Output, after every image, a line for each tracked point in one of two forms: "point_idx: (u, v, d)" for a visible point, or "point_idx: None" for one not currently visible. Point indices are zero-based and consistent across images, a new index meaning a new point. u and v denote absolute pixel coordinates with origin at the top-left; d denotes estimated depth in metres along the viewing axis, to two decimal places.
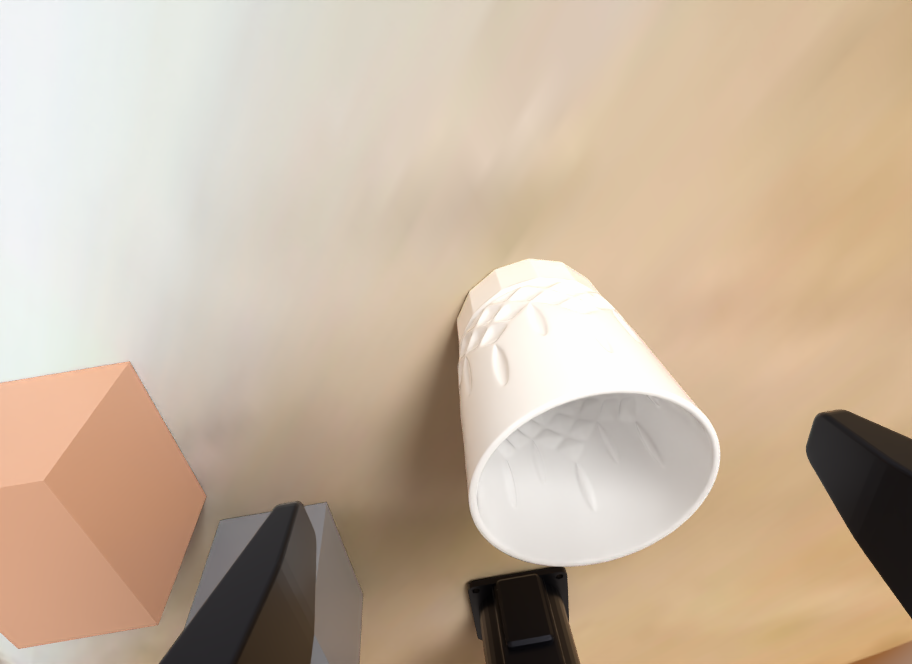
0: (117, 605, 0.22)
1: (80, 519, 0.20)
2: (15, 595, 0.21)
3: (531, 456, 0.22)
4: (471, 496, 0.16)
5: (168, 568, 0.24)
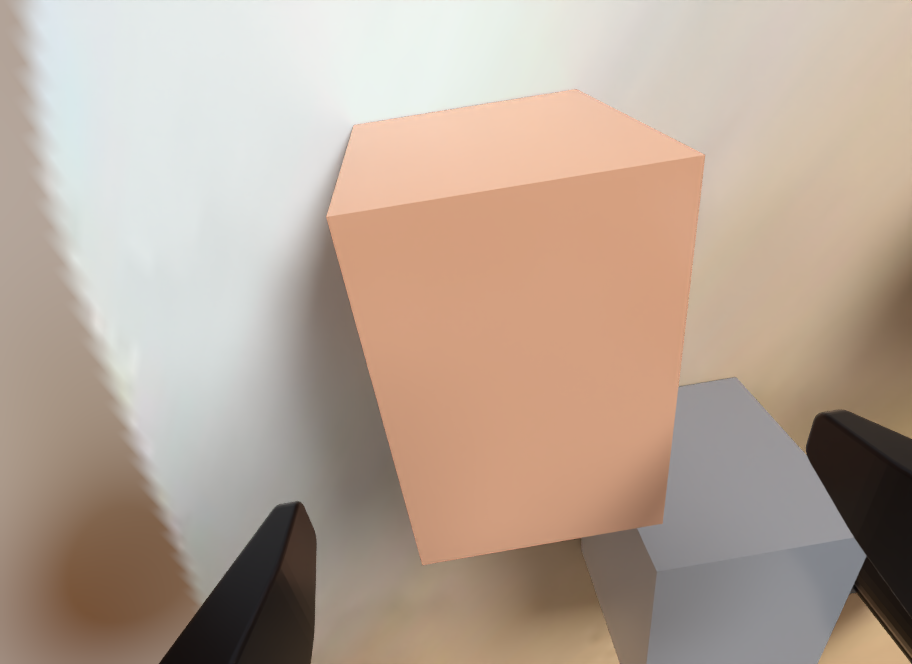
0: (628, 481, 0.12)
1: (685, 277, 0.10)
2: (481, 452, 0.11)
3: None
4: None
5: None
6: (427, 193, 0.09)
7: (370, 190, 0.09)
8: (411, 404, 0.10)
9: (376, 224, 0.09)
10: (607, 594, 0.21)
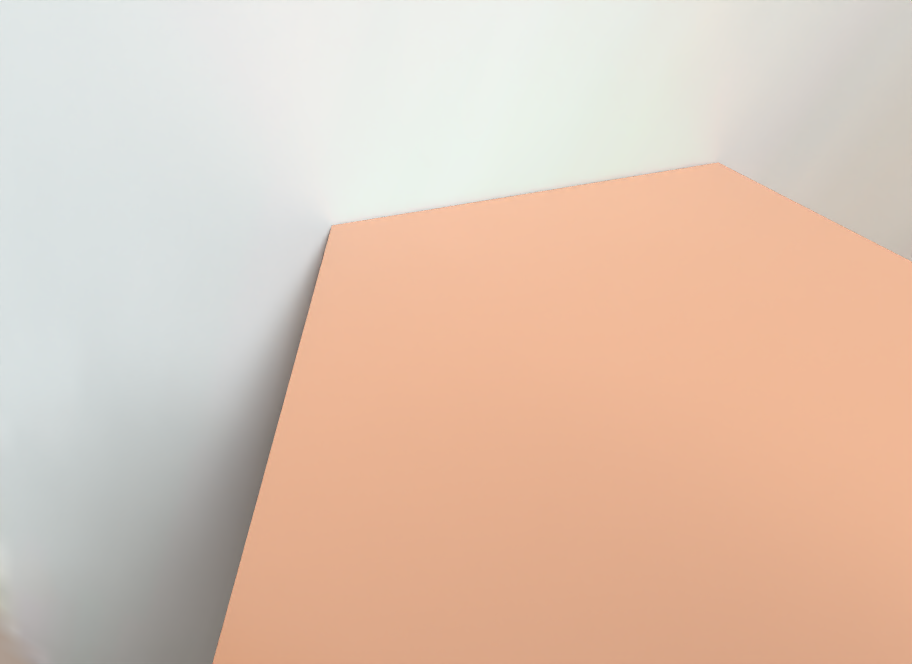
0: None
1: None
2: None
3: None
4: None
5: None
6: (525, 663, 0.03)
7: (342, 578, 0.03)
8: None
9: None
10: None
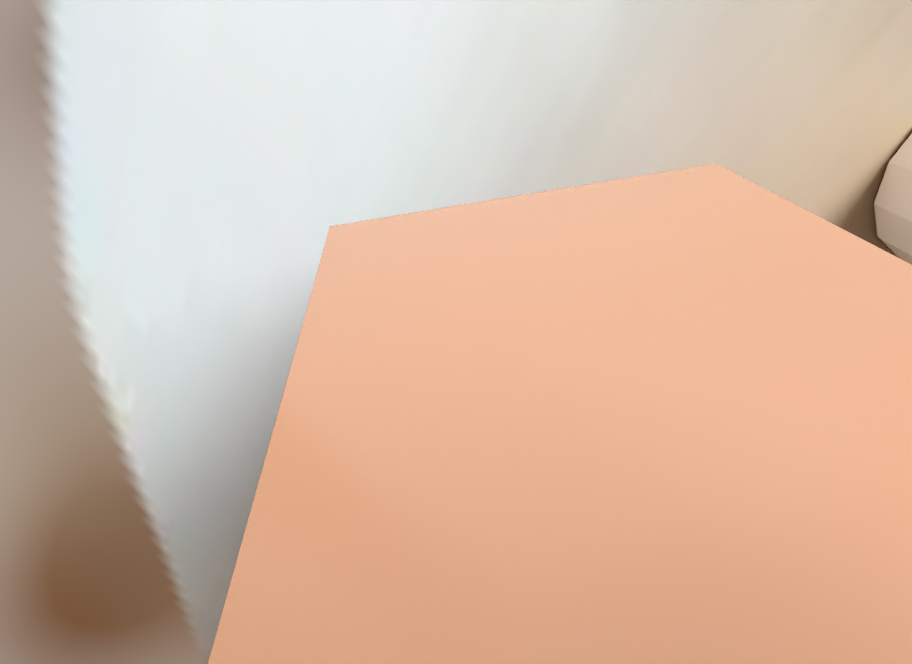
0: None
1: None
2: None
3: None
4: None
5: None
6: None
7: (338, 579, 0.03)
8: None
9: None
10: None
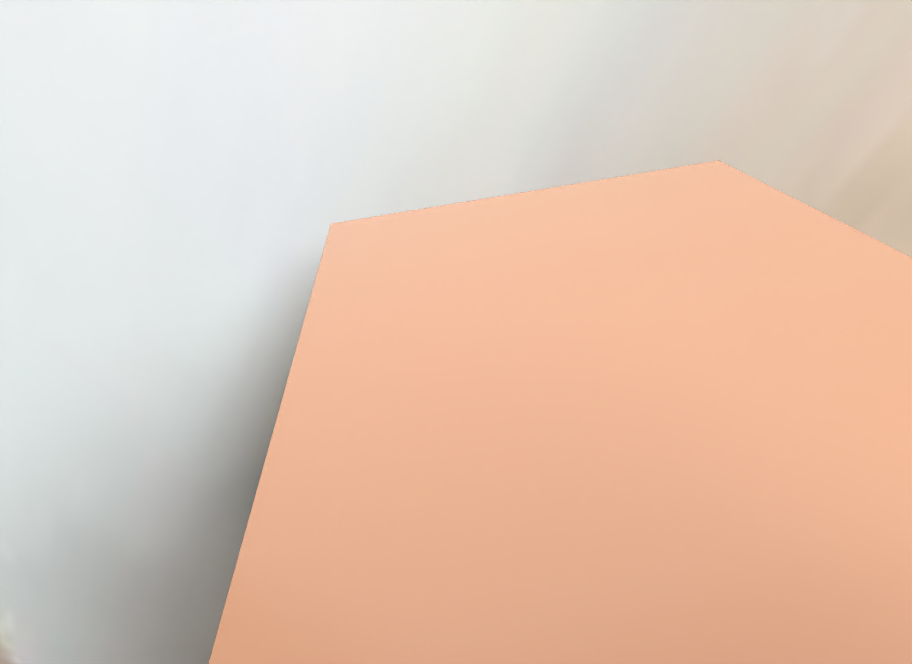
0: None
1: None
2: None
3: None
4: None
5: None
6: (525, 662, 0.03)
7: (340, 576, 0.03)
8: None
9: None
10: None
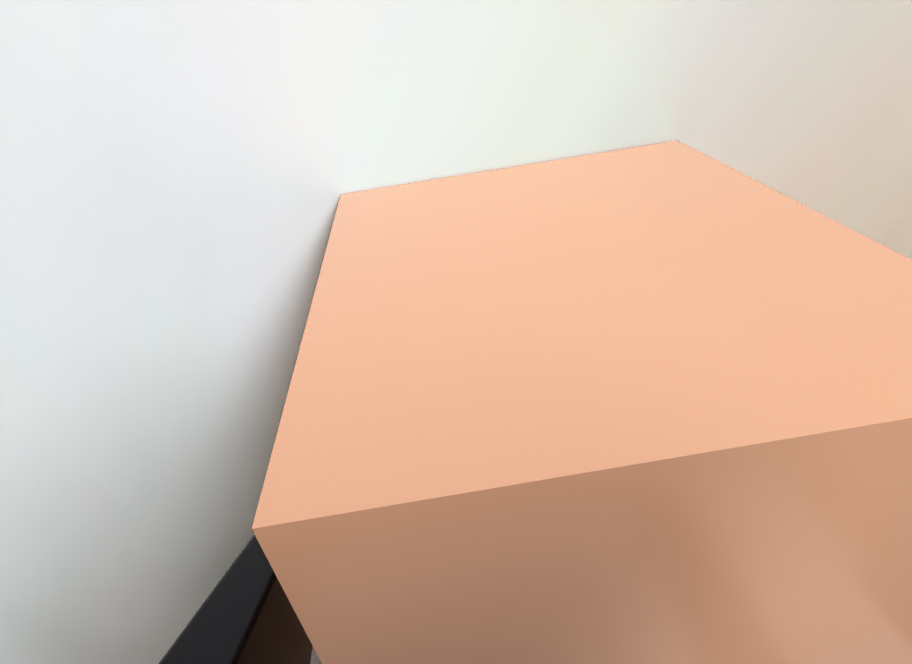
0: None
1: None
2: None
3: None
4: None
5: None
6: (486, 448, 0.04)
7: (359, 412, 0.04)
8: None
9: (369, 535, 0.04)
10: None
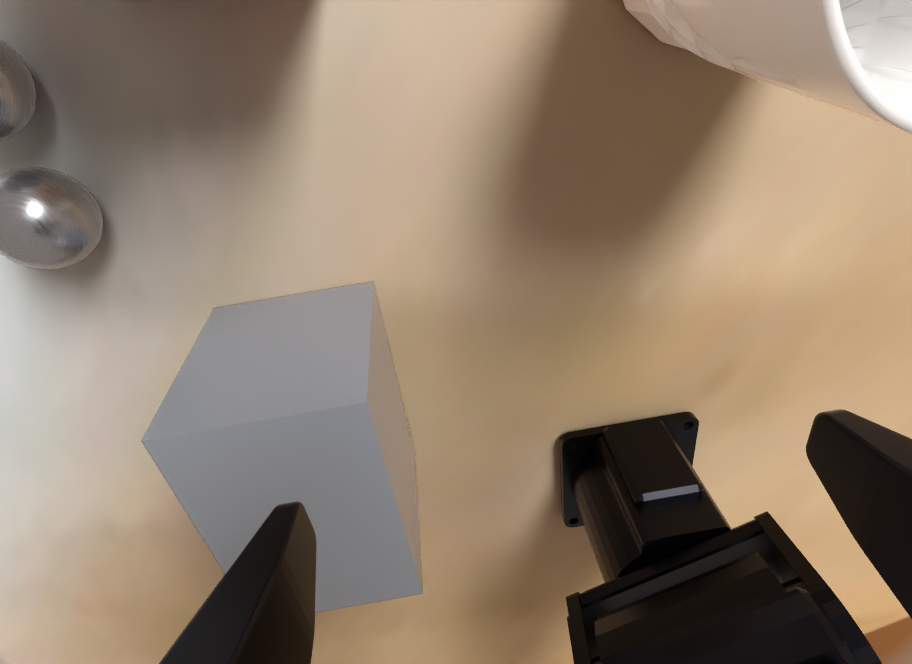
0: None
1: None
2: None
3: None
4: None
5: None
6: None
7: None
8: None
9: None
10: None
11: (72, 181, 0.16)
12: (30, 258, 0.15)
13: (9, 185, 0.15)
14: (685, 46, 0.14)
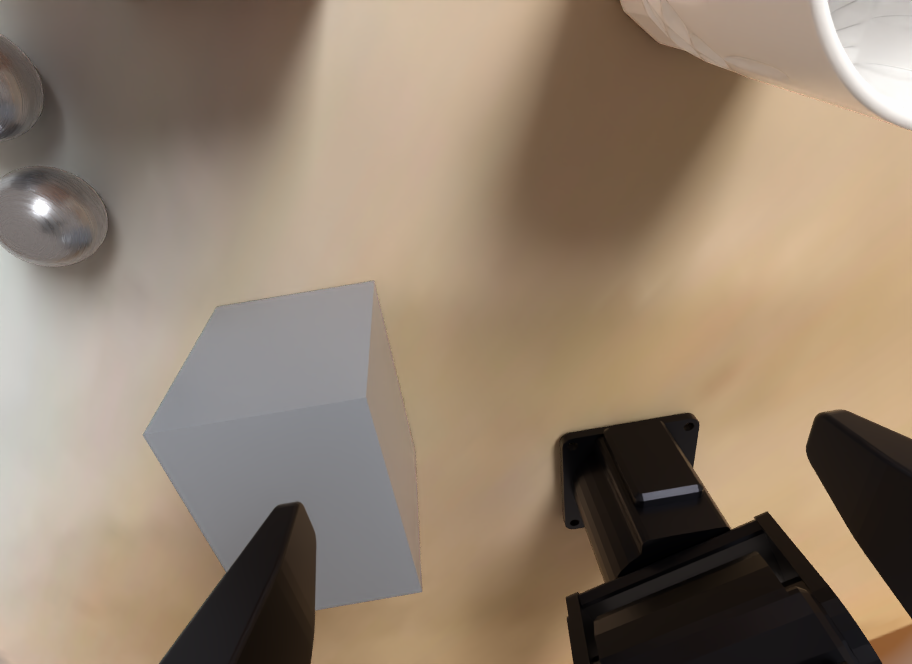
0: None
1: None
2: None
3: None
4: None
5: None
6: None
7: None
8: None
9: None
10: None
11: (78, 180, 0.16)
12: (36, 255, 0.16)
13: (16, 183, 0.15)
14: (681, 46, 0.14)
